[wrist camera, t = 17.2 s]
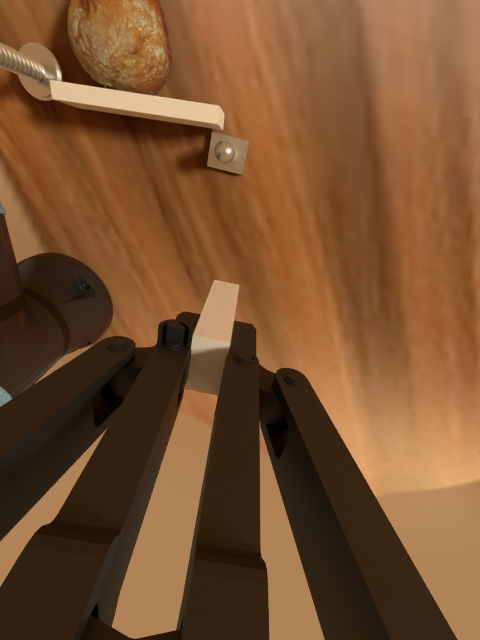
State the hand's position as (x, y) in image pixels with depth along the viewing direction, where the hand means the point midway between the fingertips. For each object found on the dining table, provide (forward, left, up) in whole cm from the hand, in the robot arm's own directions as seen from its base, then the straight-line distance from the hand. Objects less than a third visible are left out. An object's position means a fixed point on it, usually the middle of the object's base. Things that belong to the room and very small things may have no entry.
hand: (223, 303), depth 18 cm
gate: (-13, +11, -23) cm, 28 cm away
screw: (-25, +11, -24) cm, 37 cm away
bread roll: (-16, +16, -25) cm, 34 cm away
